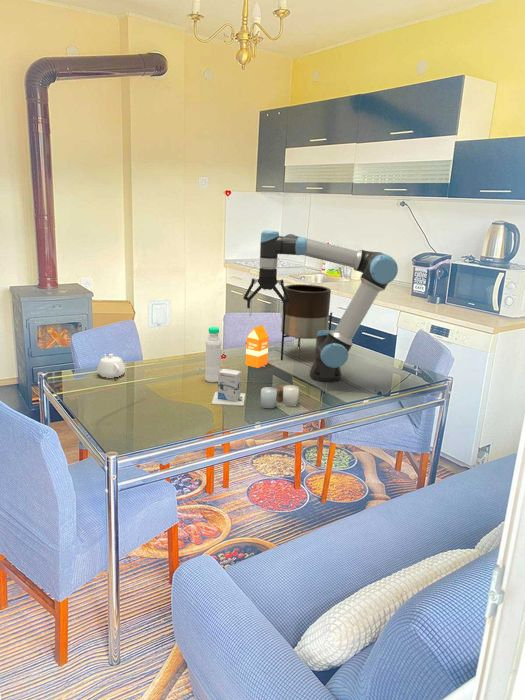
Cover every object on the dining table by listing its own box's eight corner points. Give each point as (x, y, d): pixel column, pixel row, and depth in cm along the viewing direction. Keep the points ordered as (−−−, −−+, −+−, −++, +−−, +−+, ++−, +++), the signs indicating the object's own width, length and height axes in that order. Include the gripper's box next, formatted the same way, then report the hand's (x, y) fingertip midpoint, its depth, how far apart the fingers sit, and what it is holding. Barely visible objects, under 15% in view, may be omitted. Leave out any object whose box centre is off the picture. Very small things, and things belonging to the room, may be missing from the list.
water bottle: (218, 383, 232) (219, 330, 225) (203, 381, 233) (203, 328, 226) (222, 378, 238) (223, 326, 231) (207, 377, 240) (208, 325, 233)
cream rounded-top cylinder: (297, 401, 216) (298, 385, 214) (297, 407, 210) (298, 391, 208) (282, 400, 216) (283, 384, 214) (282, 406, 210) (283, 390, 208)
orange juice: (267, 363, 263) (269, 326, 257) (258, 368, 256) (259, 329, 250) (254, 360, 267) (256, 323, 261) (245, 364, 260) (246, 326, 254)
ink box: (217, 398, 213) (217, 371, 209) (221, 394, 217) (222, 368, 214) (236, 401, 210) (237, 374, 207) (240, 397, 215) (241, 371, 212)
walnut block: (282, 396, 221) (282, 385, 219) (287, 400, 216) (288, 389, 215) (271, 397, 219) (272, 386, 217) (277, 402, 214) (277, 390, 213)
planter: (275, 348, 290) (278, 282, 280) (319, 349, 293) (324, 284, 283) (282, 363, 265) (286, 291, 254) (330, 363, 268) (336, 293, 257)
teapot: (91, 370, 241) (90, 350, 238) (117, 367, 248) (116, 346, 245) (104, 383, 225) (103, 361, 222) (132, 379, 232) (131, 358, 229)
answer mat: (245, 394, 220) (245, 393, 220) (243, 406, 208) (243, 404, 207) (215, 393, 220) (215, 391, 220) (211, 404, 208) (211, 403, 208)
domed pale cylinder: (275, 403, 212) (276, 387, 210) (275, 409, 206) (276, 393, 204) (260, 402, 213) (261, 386, 211) (260, 408, 206) (260, 392, 204)
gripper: (297, 268, 222) (294, 316, 228) (239, 265, 222) (238, 313, 228) (297, 270, 215) (294, 319, 221) (238, 267, 215) (236, 316, 221)
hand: (265, 316), depth 225 cm, fingers open, 13 cm apart
